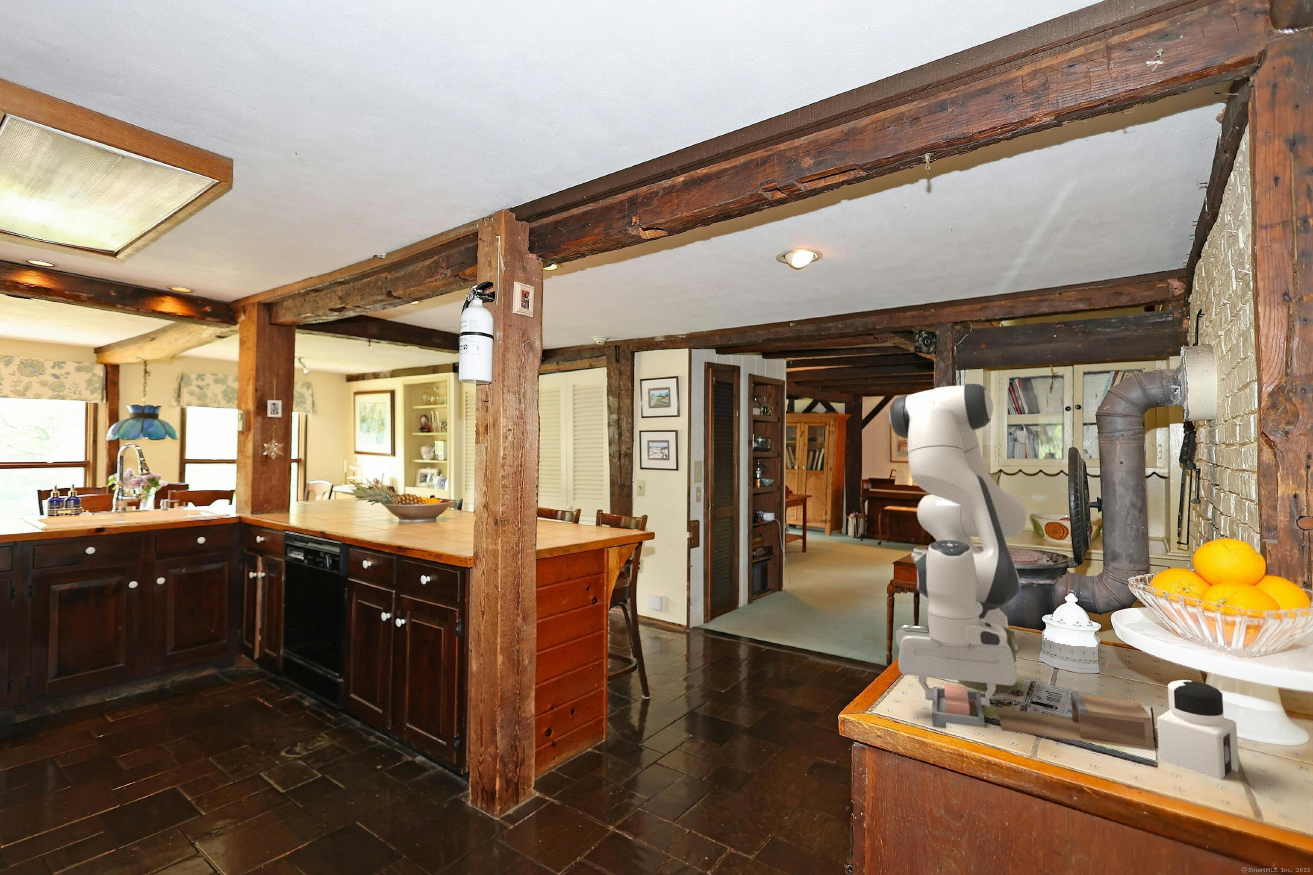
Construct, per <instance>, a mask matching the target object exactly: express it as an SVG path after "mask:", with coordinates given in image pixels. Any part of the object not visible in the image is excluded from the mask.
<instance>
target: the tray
mask: <svg viewBox="0 0 1313 875" xmlns="http://www.w3.org/2000/svg"><path fill="white" fill-rule="evenodd" d="M932 688H934V700H932V702H931V703H932V706H931V708H932V710H931V716H932V717H931V718H932V726H933V727H937V728H943V729H944V728H947V724H955V725H961V726H962V725H963V726H970V727H976V728H983V729H984V728H986V727H985V725H986V724H985V715H984V708H983V706H981V702H980V694H981V691H977V690H976V691H975V690H967V694H968V700H969V701H970V700H971V701H975V702H976V709H977V716H973V715H970V716H966V715H958V714H950V713H946V709H945V690H944V687H940V686H939V687H938V686H932Z"/></svg>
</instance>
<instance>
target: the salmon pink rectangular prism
mask: <svg viewBox="0 0 1313 875" xmlns="http://www.w3.org/2000/svg"><path fill="white" fill-rule="evenodd" d="M943 688H944V690H945V709H946V713H950V714H958V715H966V716H971V715H970V714H971V713H970V703H969V702H970V699H968V694H967V691H968V687H966V686H964V685H959V684H957V685H956V684H949V683H944V684H943Z"/></svg>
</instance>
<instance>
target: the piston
mask: <svg viewBox="0 0 1313 875" xmlns="http://www.w3.org/2000/svg"><path fill="white" fill-rule="evenodd" d="M1001 627H1002V626H1001ZM1003 629H1004V630H1005V632H1006V634H1007V644H1008V645H1009V646H1010V649H1011V651H1012V654H1013V658H1014V662H1015V663H1016V662H1017V651H1016V650H1015V644H1016V638H1015V632H1014V631H1013V629H1011V628H1009V627H1008V628H1006V627H1003ZM1015 666H1016V667H1017V665H1016V664H1015ZM1016 672H1017V670H1016ZM957 682H958V683H959V684H961V686H966V687H967V688H970V689H972V690H974V691H975V690H976V691H978V692H985V693H986V691H987V690H988V688H987V683H980V682H971V681H961V680H957ZM995 685H996V690H995V692H994V693H998V694H999V693H1009V692H1013V691H1015V690H1017V688H1018V681H1017V682H1016V683H1015V684H1014V685H1013V686H1008V685H999V684H995Z"/></svg>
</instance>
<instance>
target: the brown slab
mask: <svg viewBox="0 0 1313 875" xmlns="http://www.w3.org/2000/svg"><path fill="white" fill-rule="evenodd" d="M1070 701H1071V702H1070V704H1071V716H1064V715H1055V714H1049V713H1048V714H1047V713H1041V712H1040V713H1039V712H1031V711H1023V710H1015V709H1006V708H1005V709H1004V708H998V707H997V709H996V710H997V715H998V719H999V724H1000V728H1001V731H1004V732H1010V733H1011V732H1012V733H1018V734H1026V735H1032V736H1033V735H1034V736H1039V737H1040V736H1042V737H1048V738H1057V739H1063V740H1072V741H1078V742H1080V741H1081V742H1087V743H1095V744H1102V745H1109V746H1117V747H1122V748H1123V747H1125V748H1131V749H1138V750H1139V749H1140V750H1147V751H1156V749H1154V742H1153V741H1154V740H1153V739H1154V738H1153V737H1154V735H1153V722H1152V721H1153V719H1152V716H1150V714H1149V713H1148V712H1147V710H1146V709H1145V707H1144V706H1143V705H1142V704H1141V702H1140V701H1139V700H1138V699H1131V698H1122V697H1112V696H1104V695H1103V696H1102V695H1093V694H1085V693H1084V694H1083V693H1079V692H1076V691H1070Z"/></svg>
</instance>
